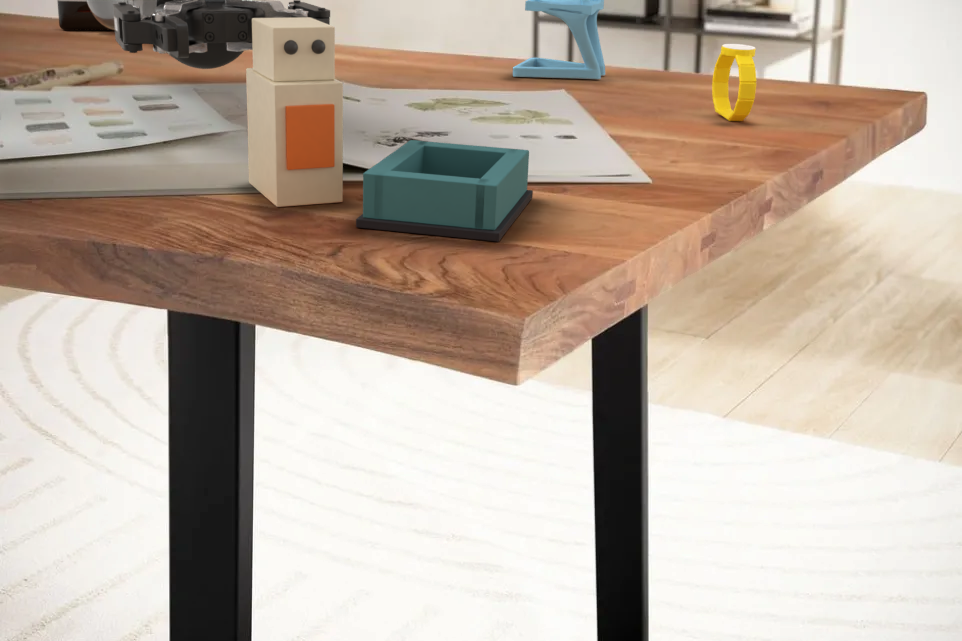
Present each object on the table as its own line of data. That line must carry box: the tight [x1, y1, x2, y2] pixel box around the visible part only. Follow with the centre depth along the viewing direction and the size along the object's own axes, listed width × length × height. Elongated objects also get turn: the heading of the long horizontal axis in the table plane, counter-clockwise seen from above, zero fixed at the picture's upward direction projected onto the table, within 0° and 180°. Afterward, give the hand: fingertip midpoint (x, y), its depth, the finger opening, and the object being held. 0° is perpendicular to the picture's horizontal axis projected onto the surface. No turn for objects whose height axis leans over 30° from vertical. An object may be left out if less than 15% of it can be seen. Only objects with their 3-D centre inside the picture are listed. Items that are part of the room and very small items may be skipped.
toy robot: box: [245, 17, 344, 208], centre depth 72 cm, size 6×4×10 cm, turn 25°
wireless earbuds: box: [56, 0, 114, 32], centre depth 139 cm, size 5×7×3 cm, turn 105°
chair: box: [512, 0, 606, 80], centre depth 119 cm, size 8×8×12 cm
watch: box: [711, 43, 757, 122], centre depth 101 cm, size 6×3×6 cm, turn 12°
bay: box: [355, 139, 534, 243], centre depth 70 cm, size 10×8×3 cm
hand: (250, 39), depth 79 cm, fingers open, 8 cm apart
